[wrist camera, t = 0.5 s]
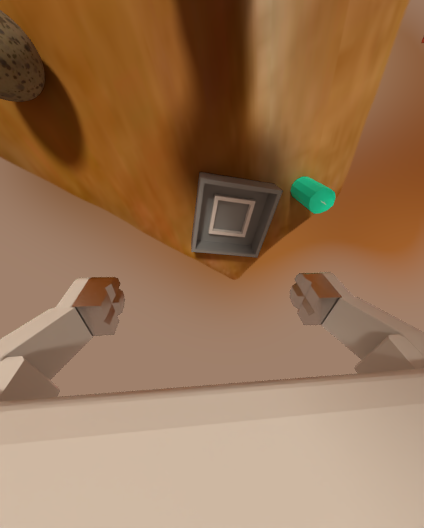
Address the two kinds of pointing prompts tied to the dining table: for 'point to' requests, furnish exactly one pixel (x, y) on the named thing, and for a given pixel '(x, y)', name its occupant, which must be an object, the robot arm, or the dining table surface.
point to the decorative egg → (18, 63)
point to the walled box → (232, 214)
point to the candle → (312, 194)
